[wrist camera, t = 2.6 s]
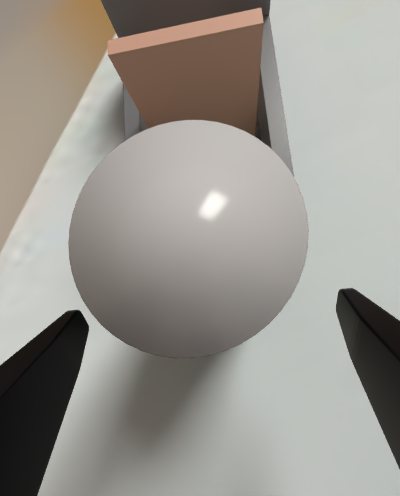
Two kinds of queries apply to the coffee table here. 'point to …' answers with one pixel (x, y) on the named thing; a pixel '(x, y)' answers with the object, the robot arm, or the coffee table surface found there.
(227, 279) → the jar
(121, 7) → the pusher lane
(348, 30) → the coffee table surface
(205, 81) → the pusher plate
